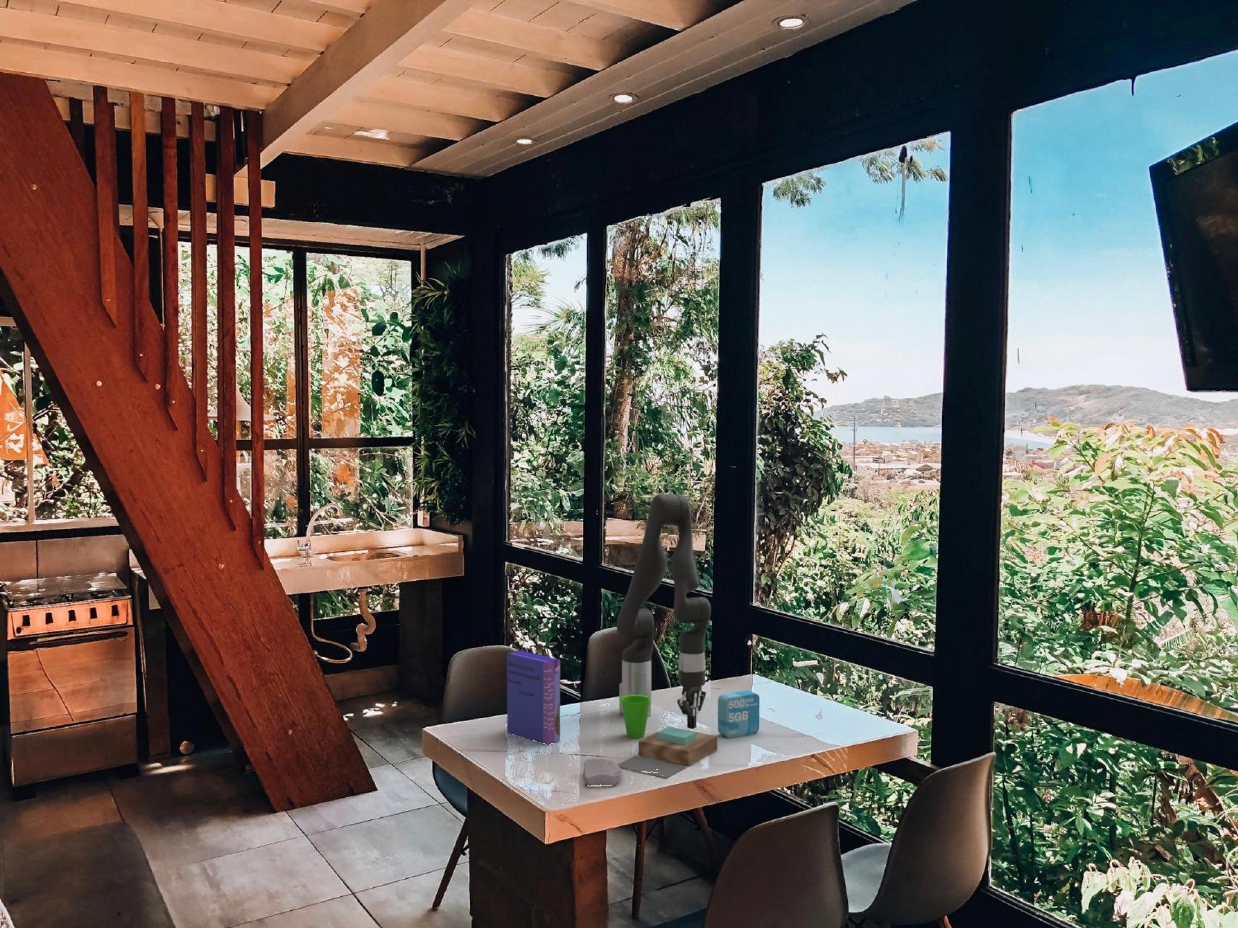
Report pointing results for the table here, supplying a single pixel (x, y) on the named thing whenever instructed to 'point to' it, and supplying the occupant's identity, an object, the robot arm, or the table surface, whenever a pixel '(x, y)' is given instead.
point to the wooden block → (678, 748)
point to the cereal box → (533, 696)
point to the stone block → (601, 772)
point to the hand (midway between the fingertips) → (691, 727)
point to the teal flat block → (676, 735)
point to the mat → (651, 766)
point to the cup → (635, 714)
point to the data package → (738, 713)
